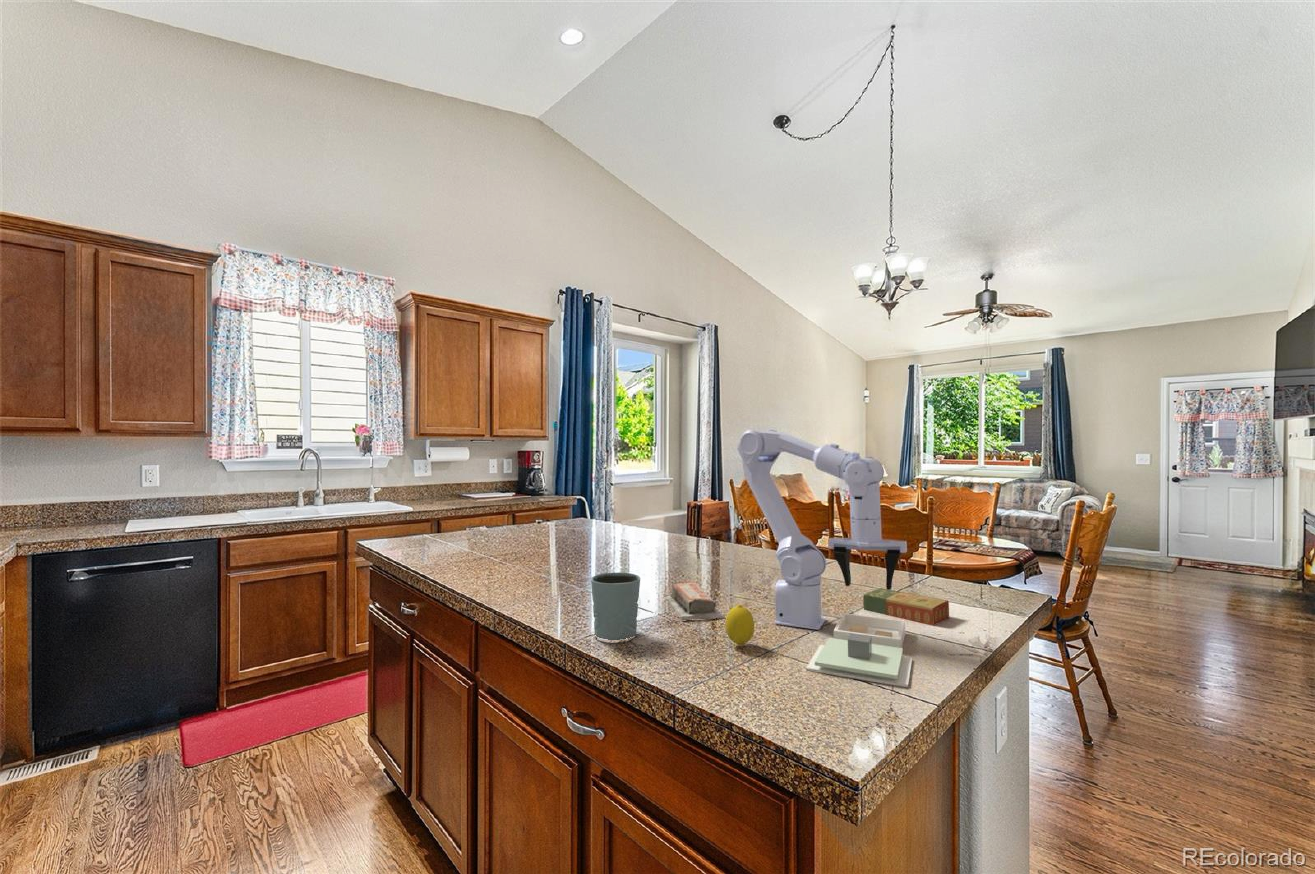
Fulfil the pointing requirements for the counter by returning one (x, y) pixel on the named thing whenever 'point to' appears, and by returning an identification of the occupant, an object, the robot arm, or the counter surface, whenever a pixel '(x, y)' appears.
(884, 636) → the box
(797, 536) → the robot arm
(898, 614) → the carton
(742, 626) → the lemon
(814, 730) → the counter surface
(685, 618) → the packaged product
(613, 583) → the grey-green cup
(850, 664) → the lid
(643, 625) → the counter surface
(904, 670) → the mat
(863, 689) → the counter surface
